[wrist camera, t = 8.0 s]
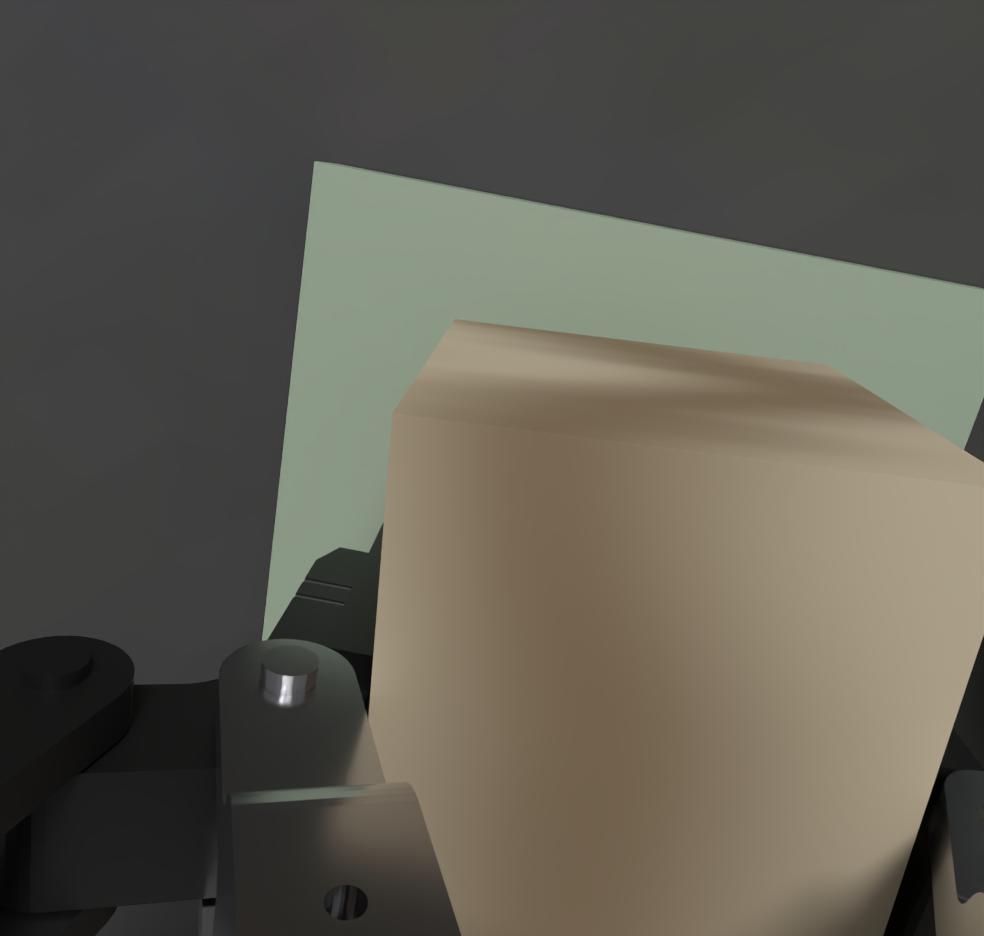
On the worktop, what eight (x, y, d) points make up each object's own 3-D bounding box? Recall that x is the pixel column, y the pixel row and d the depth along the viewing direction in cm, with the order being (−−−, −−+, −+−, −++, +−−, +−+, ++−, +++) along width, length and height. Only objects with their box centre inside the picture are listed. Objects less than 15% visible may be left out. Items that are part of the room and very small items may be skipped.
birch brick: (827, 364, 11) (1031, 492, 7) (711, 847, 14) (797, 1189, 9) (454, 319, 11) (392, 411, 7) (406, 807, 14) (336, 1124, 9)
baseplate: (974, 286, 15) (1021, 297, 13) (787, 809, 18) (808, 862, 17) (337, 164, 15) (314, 161, 13) (272, 710, 18) (249, 754, 17)
